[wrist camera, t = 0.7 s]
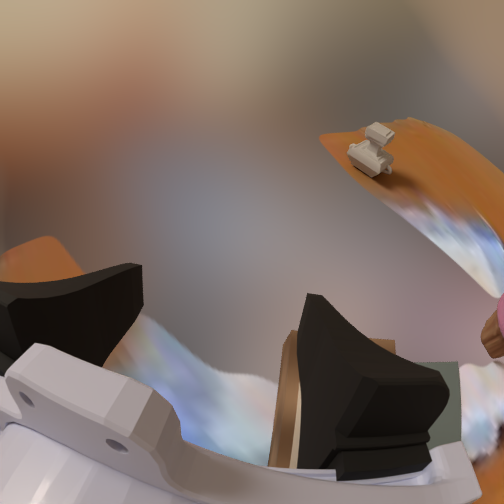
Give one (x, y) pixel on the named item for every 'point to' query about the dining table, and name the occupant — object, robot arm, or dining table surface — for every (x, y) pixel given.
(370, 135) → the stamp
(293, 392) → the panel
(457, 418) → the mat
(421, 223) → the dining table surface
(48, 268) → the dining table surface
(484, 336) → the cupcake
